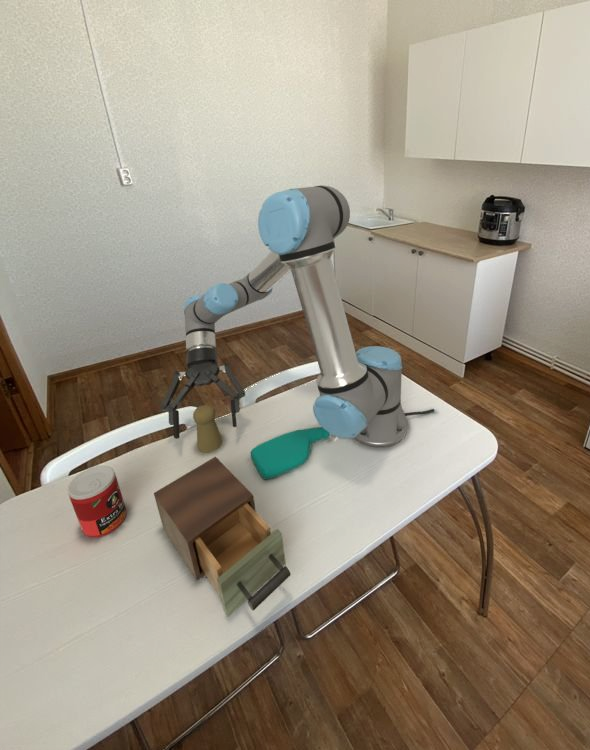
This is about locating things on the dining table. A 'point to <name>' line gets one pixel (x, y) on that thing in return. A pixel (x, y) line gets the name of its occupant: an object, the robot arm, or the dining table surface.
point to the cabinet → (199, 506)
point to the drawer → (242, 559)
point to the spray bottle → (286, 451)
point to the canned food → (97, 501)
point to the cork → (207, 429)
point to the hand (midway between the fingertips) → (206, 432)
